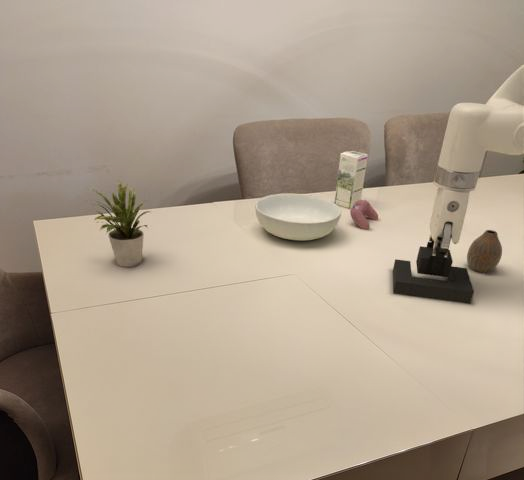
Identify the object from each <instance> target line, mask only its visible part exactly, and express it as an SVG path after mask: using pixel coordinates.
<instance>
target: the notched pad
mask: <svg viewBox="0 0 524 480" xmlns="http://www.w3.org/2000/svg"><path fill="white" fill-rule="evenodd" d="M411 263H412V262H411V260H405V259H397V258H396V259H394V261H393V268H392V294H393V295H401V296H409V297H416V298H423V299H430V300H437V301H445V302H452V303H453V302H454V303H461V304H467V305H471V302H472V299H473V296H474V293H475V290H474V287H473V284H472V281H471V278H470V275H469V271H468V269H467V267H460V266H453V265H452V266H451V269H450V273H449V276H448V278H447V280H443V279H435V278H427V277H419V276H413V273H412V264H411Z"/></svg>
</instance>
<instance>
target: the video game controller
mask: <svg viewBox="0 0 524 480" xmlns="http://www.w3.org/2000/svg"><path fill="white" fill-rule="evenodd" d="M349 213H350V218H351V219H352V221H353V222H354V223H355V224H356V225H357V227H359V228H360V229H361V230H366V231H367V230H369V229H370V227H371V225H370V222H369V221H368V220H367V218H368V219H369V220H373V221H378V219H379V214H378V212H377V211H376V210H375V209H374V208H373V207H372V205H371V204H370V202H369V201H368V200H367V199H364V200H363V199H361V200H359V201H356V202H355V203H354V205H353V207H352V208H351V209H350V210H349Z"/></svg>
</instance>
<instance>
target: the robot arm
mask: <svg viewBox="0 0 524 480" xmlns="http://www.w3.org/2000/svg"><path fill="white" fill-rule="evenodd" d="M447 120H448V121H447V125H446V129H445V132H444V137H443V141H442V145H441V150H440V152H439V153H440V154H439V157H438V161H437V166H436V171H435V174H434V179H433V185H434V186H435V187H437V191H436V194H435V198H434V201H433V205H432V211H431V215H430V221H429V231H430V234H429V238H428V239H429V240H428V241H427V244H426V247H429V248H433V251H432V254H430V257H429V261H428V265H427V269H426V274H429V275H428V276H432V275H437V276H436V277H440V276H442V275H443V271H444V267H445V264H446V260H447V255H448V250H450V245H451V241H452V243H453V244H454V245H457V244H458V243H459V242H460V239H461V235H462V230H463V226H464V222H465V218H466V214H467V209H468V206H469V205H468V204H469V198H470V192H473V191H475V190H476V187H477V184H478V180H479V177H480V173H481V170H482V167H483V163H484V159H485V156H486V152H488V151H490V152H494V153H499V154H504V155H510V156H519V155H520V156H521V155H524V64H522V65H520V67H518V69H516V70H515V71H514V72H513V73H512V74H510V76H509V77H508V78H507V79H506V80H505V81H504V82H503V83H502V84H501V86H500V87H499V88H498V89H497V90H495V92H494V93H493V94H492V96H491V97H490V98H488V100H487V102H486V103H485V104H483V103H477V102H459V103H456V104H455V105H454V106H452V108H451V110H450V112H449V115H448V119H447Z"/></svg>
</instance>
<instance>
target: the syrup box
mask: <svg viewBox="0 0 524 480" xmlns="http://www.w3.org/2000/svg"><path fill="white" fill-rule="evenodd" d="M368 157H369V154H368V153H364V152H360V151H353V150H347V151H344V152H341V153H340V155H339V164H338V172H337V180H336V189H335V195H334V196H335V198H334V203H335V204H336V205H338V206H339V207H343V208H346V209H350V210H351V208H352V207H353V205H354V203H355V202H356V201H359V200H362V196H363V190H364V189H363V188H364V183H365V177H366V170H367V164H368Z"/></svg>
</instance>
